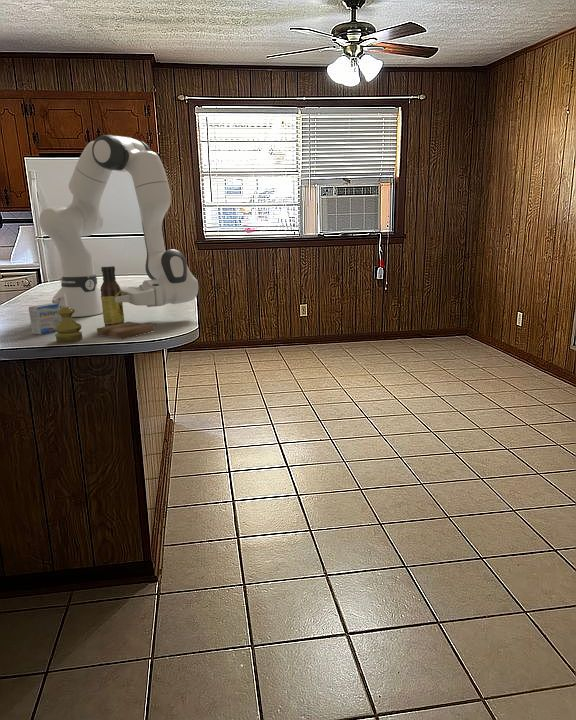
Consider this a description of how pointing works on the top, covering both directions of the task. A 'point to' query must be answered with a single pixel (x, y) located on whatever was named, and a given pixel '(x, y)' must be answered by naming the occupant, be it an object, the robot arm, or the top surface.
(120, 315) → the sauce bottle
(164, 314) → the top surface
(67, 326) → the gold stacked ornament
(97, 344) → the top surface
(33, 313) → the medicine box
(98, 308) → the robot arm
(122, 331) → the walnut tray
